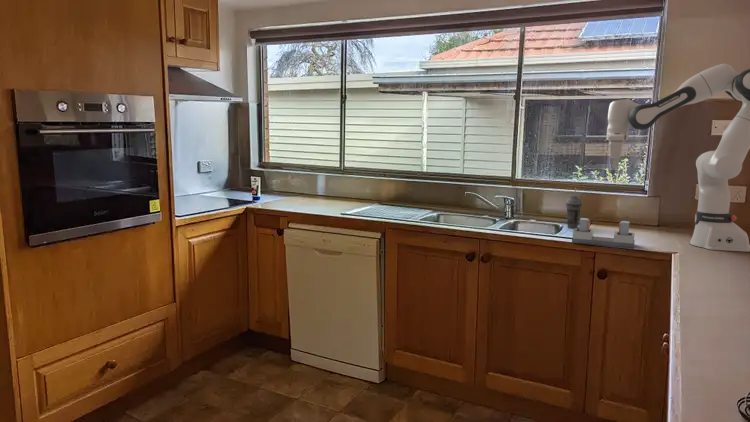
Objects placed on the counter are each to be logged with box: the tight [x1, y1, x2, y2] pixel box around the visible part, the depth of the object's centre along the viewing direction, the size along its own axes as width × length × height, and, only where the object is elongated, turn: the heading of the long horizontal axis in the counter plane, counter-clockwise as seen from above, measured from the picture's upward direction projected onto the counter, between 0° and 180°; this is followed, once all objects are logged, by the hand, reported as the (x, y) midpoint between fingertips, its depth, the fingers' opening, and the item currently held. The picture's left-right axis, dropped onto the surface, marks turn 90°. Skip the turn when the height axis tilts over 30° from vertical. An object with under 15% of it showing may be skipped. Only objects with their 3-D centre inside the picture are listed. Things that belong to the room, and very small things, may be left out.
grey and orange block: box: [578, 217, 591, 232], centre depth 229 cm, size 4×4×8 cm
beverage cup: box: [565, 187, 583, 229], centre depth 261 cm, size 7×7×20 cm
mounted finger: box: [618, 220, 630, 235], centre depth 223 cm, size 4×4×8 cm
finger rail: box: [571, 227, 636, 249], centre depth 227 cm, size 24×8×5 cm, turn 63°
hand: (615, 167), depth 237 cm, fingers open, 8 cm apart
